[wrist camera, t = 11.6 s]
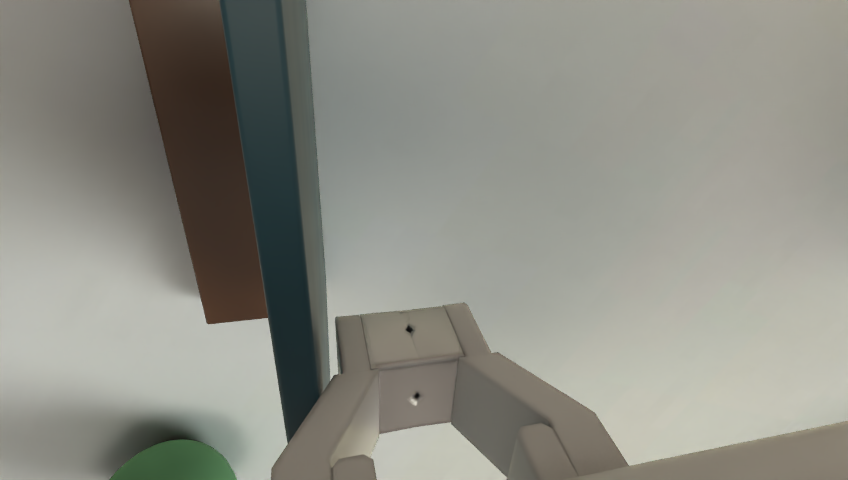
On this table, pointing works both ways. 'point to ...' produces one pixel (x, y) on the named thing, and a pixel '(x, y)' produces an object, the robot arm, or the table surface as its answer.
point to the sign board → (283, 188)
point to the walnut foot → (203, 150)
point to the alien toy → (176, 463)
